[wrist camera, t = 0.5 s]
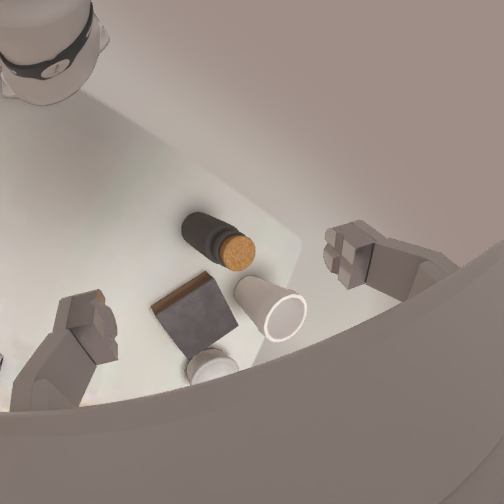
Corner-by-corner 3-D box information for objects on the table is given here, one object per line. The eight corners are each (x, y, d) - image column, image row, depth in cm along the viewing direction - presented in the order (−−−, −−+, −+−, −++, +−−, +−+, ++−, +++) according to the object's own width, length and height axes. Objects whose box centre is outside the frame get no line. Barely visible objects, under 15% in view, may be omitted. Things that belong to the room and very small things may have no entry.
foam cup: (272, 273, 60) (314, 297, 49) (257, 312, 61) (294, 342, 50) (236, 264, 54) (276, 290, 44) (220, 307, 55) (256, 341, 45)
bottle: (217, 234, 50) (264, 260, 38) (190, 251, 48) (229, 284, 36) (204, 205, 47) (250, 223, 35) (175, 222, 45) (212, 247, 33)
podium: (150, 306, 47) (156, 317, 44) (205, 271, 51) (214, 279, 48) (181, 348, 53) (188, 359, 49) (229, 316, 57) (238, 325, 54)
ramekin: (212, 386, 61) (222, 400, 56) (173, 378, 54) (182, 394, 50) (236, 350, 61) (248, 363, 57) (197, 338, 54) (208, 352, 50)
